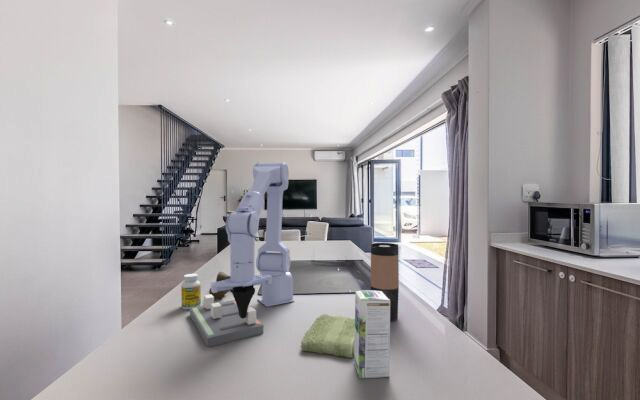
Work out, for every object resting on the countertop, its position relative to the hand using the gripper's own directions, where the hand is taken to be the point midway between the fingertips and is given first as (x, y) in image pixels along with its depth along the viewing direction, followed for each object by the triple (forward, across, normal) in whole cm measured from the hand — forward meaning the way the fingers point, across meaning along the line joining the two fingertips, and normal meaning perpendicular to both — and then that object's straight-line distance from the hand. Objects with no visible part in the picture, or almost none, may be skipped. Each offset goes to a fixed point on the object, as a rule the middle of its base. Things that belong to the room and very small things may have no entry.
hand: (242, 316), depth 75 cm
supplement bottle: (+4, -7, +26) cm, 27 cm away
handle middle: (+2, -4, +8) cm, 9 cm away
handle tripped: (+2, +2, 0) cm, 2 cm away
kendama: (+4, +6, +36) cm, 37 cm away
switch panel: (+4, -2, +8) cm, 9 cm away
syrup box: (+4, +16, -29) cm, 33 cm away
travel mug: (+4, +37, -11) cm, 38 cm away
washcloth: (+4, +18, -14) cm, 23 cm away
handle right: (+2, -4, +16) cm, 17 cm away
